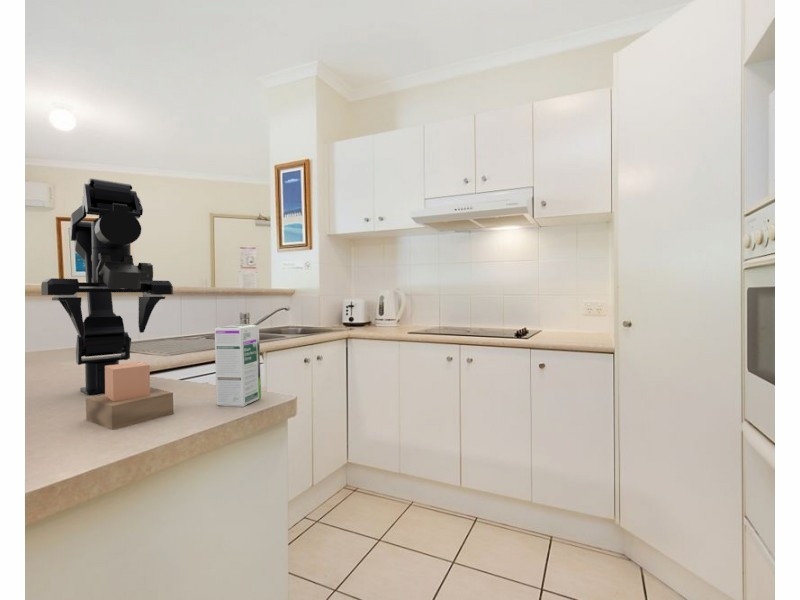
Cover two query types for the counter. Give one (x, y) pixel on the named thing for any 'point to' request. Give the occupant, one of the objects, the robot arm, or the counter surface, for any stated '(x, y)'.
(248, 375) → the syrup box
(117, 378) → the terracotta cube
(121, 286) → the robot arm
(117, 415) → the walnut block
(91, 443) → the counter surface
